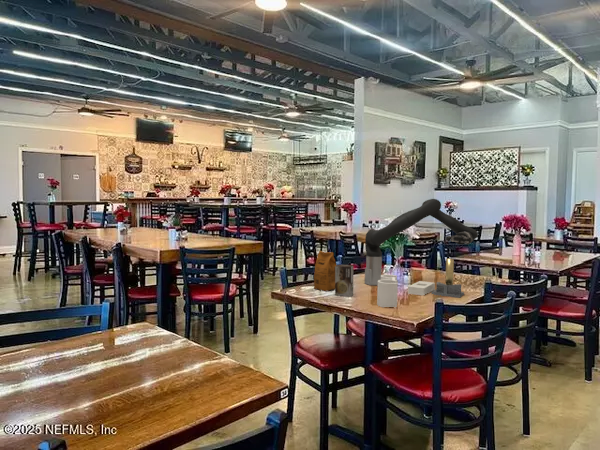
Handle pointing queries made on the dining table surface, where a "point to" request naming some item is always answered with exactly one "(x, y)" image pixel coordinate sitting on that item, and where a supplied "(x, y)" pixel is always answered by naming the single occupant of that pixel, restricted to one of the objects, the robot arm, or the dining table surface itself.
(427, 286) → the grey recessed block
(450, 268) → the axle
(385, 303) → the grey jar set
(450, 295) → the v block
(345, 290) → the coffee box
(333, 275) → the coffee package
